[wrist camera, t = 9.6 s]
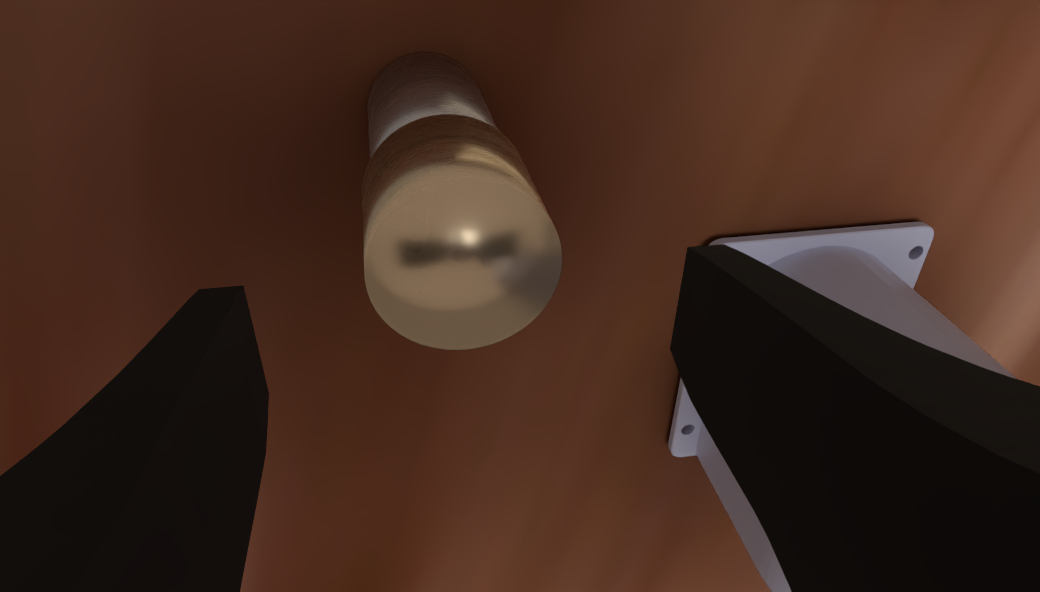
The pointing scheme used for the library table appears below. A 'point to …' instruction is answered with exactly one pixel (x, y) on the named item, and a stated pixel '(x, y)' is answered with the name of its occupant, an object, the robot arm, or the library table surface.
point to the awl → (450, 212)
